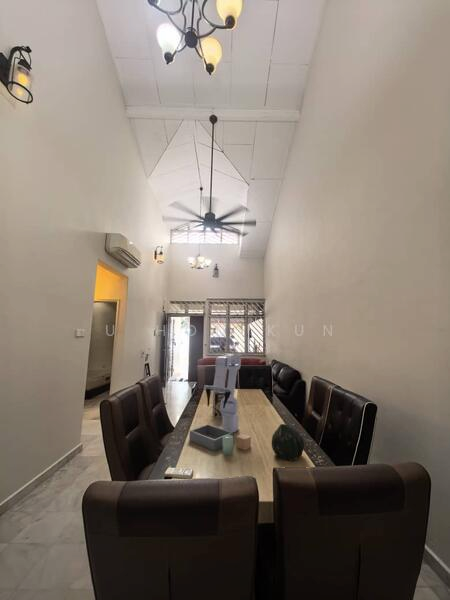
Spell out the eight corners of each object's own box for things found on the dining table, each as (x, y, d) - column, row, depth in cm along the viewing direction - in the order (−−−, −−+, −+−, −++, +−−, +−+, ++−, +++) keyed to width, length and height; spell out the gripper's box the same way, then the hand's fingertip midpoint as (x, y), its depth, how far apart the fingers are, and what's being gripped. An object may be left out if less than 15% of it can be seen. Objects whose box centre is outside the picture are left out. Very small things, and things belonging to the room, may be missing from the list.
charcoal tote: (189, 440, 136) (189, 430, 136) (207, 433, 146) (207, 424, 147) (214, 451, 124) (214, 440, 125) (232, 442, 135) (232, 432, 135)
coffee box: (214, 418, 171) (215, 393, 173) (212, 415, 177) (212, 391, 179) (227, 418, 173) (228, 392, 175) (225, 414, 179) (225, 390, 181)
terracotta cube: (242, 444, 134) (242, 433, 134) (250, 447, 130) (250, 436, 131) (236, 447, 130) (236, 436, 131) (244, 450, 127) (244, 439, 127)
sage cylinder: (227, 449, 127) (227, 433, 128) (235, 452, 124) (235, 436, 125) (220, 452, 124) (220, 436, 125) (228, 455, 120) (228, 439, 121)
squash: (315, 445, 121) (294, 415, 128) (300, 458, 110) (278, 424, 117) (294, 459, 127) (275, 429, 135) (278, 472, 116) (259, 439, 123)
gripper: (205, 374, 131) (200, 402, 124) (234, 378, 130) (231, 407, 123) (206, 378, 137) (201, 406, 130) (233, 382, 136) (230, 410, 129)
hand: (215, 406), depth 127 cm, fingers open, 7 cm apart
